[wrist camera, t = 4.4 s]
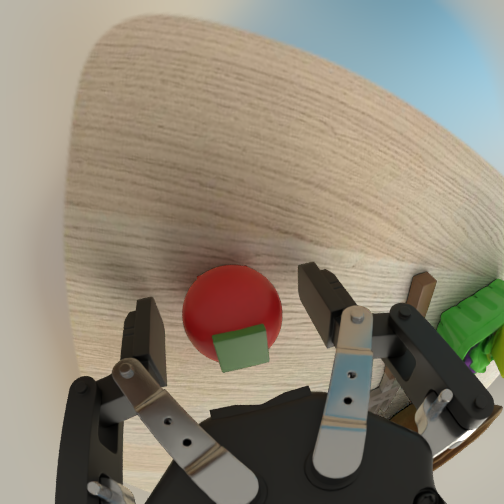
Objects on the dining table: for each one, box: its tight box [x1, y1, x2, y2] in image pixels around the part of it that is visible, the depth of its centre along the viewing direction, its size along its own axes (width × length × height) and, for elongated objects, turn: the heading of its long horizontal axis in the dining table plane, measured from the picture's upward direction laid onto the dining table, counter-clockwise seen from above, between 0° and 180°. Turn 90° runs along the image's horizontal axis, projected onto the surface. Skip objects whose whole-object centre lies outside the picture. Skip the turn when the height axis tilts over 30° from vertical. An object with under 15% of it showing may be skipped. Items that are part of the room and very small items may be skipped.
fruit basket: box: [437, 279, 504, 378], centre depth 19 cm, size 11×9×11 cm
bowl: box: [390, 404, 503, 471], centre depth 30 cm, size 22×23×10 cm
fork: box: [368, 272, 437, 414], centre depth 23 cm, size 20×4×1 cm, turn 6°
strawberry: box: [182, 265, 282, 373], centre depth 13 cm, size 4×4×4 cm
